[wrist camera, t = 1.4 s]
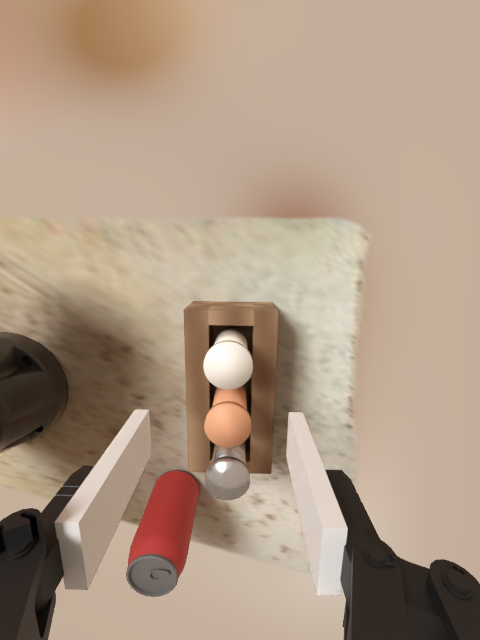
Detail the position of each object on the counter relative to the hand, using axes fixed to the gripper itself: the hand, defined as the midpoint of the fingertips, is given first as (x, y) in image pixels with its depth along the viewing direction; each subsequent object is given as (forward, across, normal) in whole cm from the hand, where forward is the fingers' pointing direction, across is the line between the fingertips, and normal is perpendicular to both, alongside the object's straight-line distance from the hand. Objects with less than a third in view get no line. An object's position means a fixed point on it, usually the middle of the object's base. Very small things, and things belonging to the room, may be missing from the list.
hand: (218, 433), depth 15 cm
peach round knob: (+16, 0, -6) cm, 17 cm away
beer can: (+21, -8, -24) cm, 33 cm away
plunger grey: (+16, 0, -12) cm, 20 cm away
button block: (+21, 0, -6) cm, 22 cm away
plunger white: (+16, 0, 0) cm, 16 cm away
